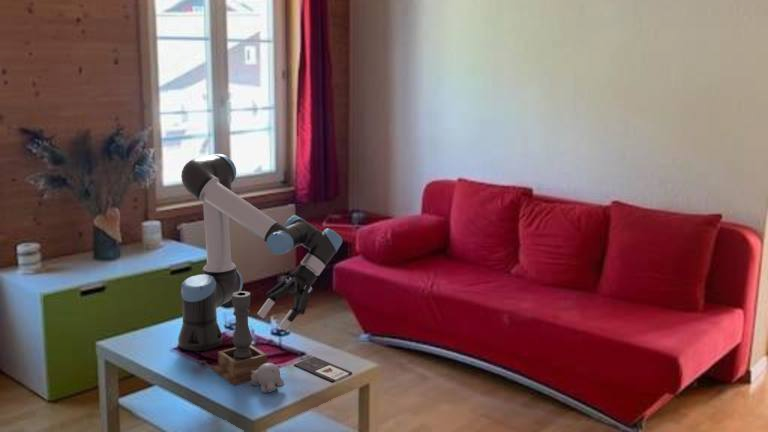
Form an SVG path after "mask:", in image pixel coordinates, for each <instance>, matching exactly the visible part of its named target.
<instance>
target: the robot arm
mask: <svg viewBox="0 0 768 432" xmlns="http://www.w3.org/2000/svg"><path fill="white" fill-rule="evenodd" d="M236 177H237V168H236V165H235V163H234V161H233V160H231V159H230V157H228V156H227V155H225V154H222V153H213V154H209V155H206V156H202V157H197V158H192V159H190V160H189V161H188V162H186V164H185V165H184V166H183V168H182V170H181V182H182V184H183V187H184V189H185V190H187V192H188V193H189V194H190V195H192V197H194V198H195V199H197V200H198V201H200V202H201V203H202V204H203V205H202V207H203V220H204V223H203V224H204V234H205V235H204V237H205V248H206V249H205V251H206V252H205V253H206V264H205V265H204V266H203V268H202V270H203V273H202V274H201V273H200V274H196V275H191V276H189V277H188V278H186V279H184V281H183V282H182V283H181V290H180V296H181V297H180V298H181V314H182V324H181V327H180V330H179V331H180V332H179V334H178V340H177V344H178V347H179V348H180V349H182V350H186V351H191V352H192V351H193V352H202V351H203V350H204V351H208V350H209V351H210V350H213V349H216V348H218V347H219V346H220V345H222V344H223V334H222V331H221V328H220V325H219V323H218V319H217V318H218V317H217V315H218V314H217V308H219V307H221V306H223V305H224V304H226V303H228V302H232V294H233V293H234V292H238V291H242V290H243V289H242V288H243V285H244V284H243V283H244V282H243V277H242V274H241V273H239V270H238V269H237V265H236V264H235V263H234V262H233V261H232V252H231V249H232V248H231V235H230V220H229V219H232V220H233V221H235V222H236V223H237V224H239V225H241V226H242V227H244V228H245V229H246V230H248V231H249V232H251V233H252V234H254V235H255V236H257V237H258V238H260V240H262V241H264V242H265V243H266V247H267V249H268V251H269V252H270V253H271V254H273V255H277V256H280V255H284V254H287V253H289V252H291V250H295V248H298V247H300V246H303V247H304V248H305V249H307V250H308V252H307V253H306V255H305V256H304V257H303V259H302V260H301V261H300V264H299V265H297V266H296V268H295V270H294V271H293V277H291V276H290V275H288V274H287V275H285V277H284V278H283V279H282V280H281V281H280V282H278V283H277V284H276V285H274V286H273V287H272V288H271V289H269V290H268V291H267V292H266V295H267V299H266V300H265V302H264V303H263V305H262V306H261V307H260V309H259V310H258V312H257V313H256V314H257V315H258V316H259V317H260V318H261V319H264V318H265V317H266V315H267V314H268V313H269V311H270V310H271V309H272V308H273V306H274V305H275V304H276V301H277V300H278V299H281V298H282V297H284V296H286V295H288V294H292V295H293V294H294V298H293V306H292V307H291V309H289V311H288V312H287V314H286V315H285V316H284V318H283V319H282V320H281V322H280V323H279V324H278V327H279V328H281V329H282V330H283V331H284V332H285V331H286V330H287V329H288V327H289V326H290V324H291V323H293V322H294V320H295V319H296V317H298V315H304V314H305V313H306V310H307V307H308V304H309V301H310V298H311V294H313V292H314V288H313V287H312V285H313V284H314V283H315V281H316V280H317V279H318V276H320V275H321V273H322V272H323V270H324V269H325V267H327V265H328V263H329V262H330V261H331V260H332V258H333V257H334V255H335V254H336V253H337V252H338V250H339V249H340V247H341V246H342V243H343V238H342V236H341V235H339V234H338V233H337V232H336V231H334V230H333V229H332V228H325V229H324V230H323V231H322V230H320V229H318V228H316V227H315V226H314V225H312V224H311V223H310V222H308V221H306V220H305V219H304V218H302V217H299V216H298V215H292V216H290V217H289V218H288V219H287V221H286V222H285V223H284V224H283V225H282V224H281V223H279V222H278V221H276V220H275V219H273V218H271V217H270V216H269V215H267V214H266V213H264V212H263V211H261V210H260V209H258V208H257V207H256V206H254V205H252V204H251V203H250V202H249V201H247V200H245V199H243V198H242V197H241V196H240V195H238V194H236V193H235V192H233V191H232V183H233V182H234V181H235V179H236ZM204 351H203V352H204Z"/></svg>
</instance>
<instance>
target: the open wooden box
mask: <svg viewBox="0 0 768 432" xmlns="http://www.w3.org/2000/svg"><path fill="white" fill-rule="evenodd" d="M235 348H236V347H235V346H234V347H231V348H228V349H224V350H220V351H217V363H218V364H215V365H212V370H213V372H215V373H216V374H217V375H219V376H220V377H222V378H223V379H224V380H226V381H227V382H229V384H231V385H232V386H237V385H242V384H244V383H247V382H251V380H252V378H251V375H252V372H251V370H253V371H256V370H258V368H259V367H260V366H261V365H263V364H265V363H268V354H267V353H265V352H263V351H262V350H260V349H258V347H256V346H254V345H252V344H251V345H250V346H249V350H250V351H251V353H252V354H251V356H252V357H251V358H248V359H244V360H240V361H235V360H234V359H233V357H234V352H235V351H236V349H235Z"/></svg>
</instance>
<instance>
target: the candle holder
mask: <svg viewBox="0 0 768 432" xmlns="http://www.w3.org/2000/svg"><path fill="white" fill-rule="evenodd" d="M231 302H232V303H231V304H232V307H233V308H234V311H233V312H232V313H233V316H235V326H234V327H235V328H234V332H233V337H232V344H233V346H234V348H235V347H236V348H235V349H236V351H235V352H234V357H233V359H234V360H235V361H240V360H244V359H248V358H251V357H252V356H251V354H252V353H251V351H250V350H249V346H250V345H252V342H253V338H252V334H251V331H250V326H249V316H250V314H251V311H250V310H249V308H250V305H251V292H249V291H245V290H241V291H238V292H234V293H233V294H232V300H231Z"/></svg>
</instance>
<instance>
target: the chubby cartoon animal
mask: <svg viewBox="0 0 768 432" xmlns="http://www.w3.org/2000/svg"><path fill="white" fill-rule="evenodd" d="M251 372H252V375H251V378H252V380H251V381H250V382H251V385H253V386H258V385H260V392H261V393H263V394H264V393H271V392H272V393H273V392H274V391H276V390H277V389H279V388H283V387H284V386H285V382H284V380H283V378H282V377H281V370H280V369H279V367H278V366H277V364H274V363H271V362H267V363H265V364H263V365H261V366H260V367H259V368H258V370H256V371H253V370H251Z"/></svg>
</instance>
